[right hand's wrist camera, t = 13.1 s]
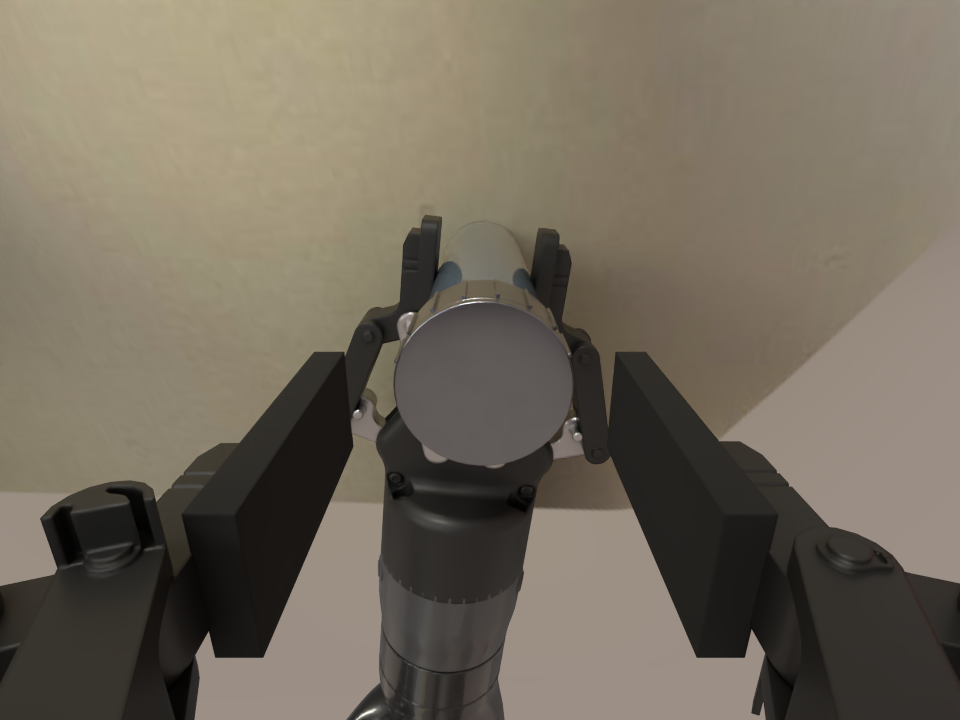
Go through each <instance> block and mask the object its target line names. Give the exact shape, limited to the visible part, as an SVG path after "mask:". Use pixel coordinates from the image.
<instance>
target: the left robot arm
mask: <svg viewBox="0 0 960 720" xmlns="http://www.w3.org/2000/svg"><path fill="white" fill-rule="evenodd" d="M441 226H442V217H439V216H430V215H425V216H424V218H423V219H422V224H421V229H420V228H412V230H411V231H410V232H409V234H408V236H407V238H406V240H405V242H404V244H403V260H402V275H401V292H400V302H399V303H397V304H396V305H393V306H390V307H386V308H380V307H375V308H372V309H370V310H369V311H368V312H367V313H366V315H365V316H364V318H363V319H362V321H361V322H360V324H359V325H358V327H357V328H356V330H355V332H354V335H353V338H352V340H351V343H350V346H349V348H348V351H347V354H346V356H345V364H346V375H347V385H348V396H349V406H350V417H351V427H352V434H354V435H357V436H360V437H362V438H365V439H368V440H370V441H373V442H376V447H377V451H378V453H379V455H380V456H381V458H382V460H383V462H384V466H385V490H384V508H383V525H382V543H381V555H380V557H379V560H378V575H379V592H380V604H381V611H382V624H381V640H380V656H379V673H380V683H379V684H378V685H377V686H376V687H375V688H374V689H373V690H372V691H371V692H370V693H369V694H368V695H367V696H366V697H365V698H364V699H363V700H362V701H361V703H360V704H359V705H358V706H357V707H356V709H355V710H354V711H353V712H352V713H351V715H350V716H349V717H348V718H347V720H504V712H503V703H502V698H501V693H500V689H499V683H498V675H499V671H500V664H501V659H502V653H503V647H504V641H505V636H506V631H507V628H508V625H509V622H510V620H511V617H512V615H513V612H514V609H515V605H516V600H517V596H518V592H519V591H520V589H521V584H522V580H523V575H524V571H523V563H524V558H525V552H526V546H527V541H528V535H529V530H530V524H531V519H532V513H533V507H534V502H535V497H536V491H537V486H538V484H539V481H540V480H541V478H542V477H543V475H544V474H545V473H546V472H547V471H548V470H549V468H550V467H551V465H552V463H553V460H558V459H564V458H570V457H576V456H582V455H585V457H586V459H587V460H588V461H589V462H590V463H592V464H601V463H604V462H605V461H607V460H608V458H609V457H610V453H609V451H608V449H607V438H608V424H607V416H606V407H605V399H604V390H603V382H602V374H601V365H600V357H599V353H598V351H597V350H596V348H595V347H594V346H593V345H592V343H591V339H590V337H589V335H588V333H587V332H586V331H585V330H583V329H580V328H576V329H574V328H572V327H570V326H568V325H566V324H564V323H563V322H562V314H563V309H564V303H565V297H566V292H567V285H568V280H569V275H570V269H571V264H572V263H571V258H570V254H569V250H568V249H567V248H566V247H565V245H562V244H559V234H558V232H557V231H556V230H554V229H546V228H539V229H538V232H537V238H536V245H535V251H534V258H533V265H532V271H531V280H532V283H533V286H534V289H535V291H536V294H537V297H538V300H539V302H540V303H541V304H543V305H544V307H545V308H546V309H547V308H549V309H550V310H551V312H552V315H553V317H554V320H555V322H556V324H557V327H558V330H559V333H560V334H561V333H563V336H564V338H565V340H566V343H567V345H568V347H569V350H570V352H571V355H572V357H571V358H570V360H571V364H572V368H573V374H574V393H573V398H572V402H573V410H569V412H568V414H567V416H566V418H565V420H564V422H563V424H562V425H561V426H560V428H559V429H558V431H557V432H556V433H555V434H554V435H553V437H552V438H551V439H550V440H549V441H548V442H546V443H545V444H544V445H543V446H542V447H540V448H539V449H537V450H536V451H534V452H533V453H531V454H529V455H527V456H525V457H523V458H521V459H518V460H515V461H513V462H509V463H505V464H499V465H492V466H477V465H468V464H463V463H458V462H455V461H452V460H449V459H447V458H445V457H442V456H440V455H438V454H436V453H435V452H433V451H432V450H430V449H428V448H427V447H426V446H425V445H423V444H422V443H421V442H420V441H419V440H418V439H417V438H416V437H415V436H414V435H413V434H412V433H411V431H410V430H409V429H408V427H407V426H406V424H405V422H404V421H403V419H402V417H401V415H400V412H399V410H398V407H397V406H396V407H395V408H394V409H393V410H392V412H391V413H390V414H389V415H388V416H387V417H386V418H384V417H382V416H381V415H380V414H379V413H378V411H377V409H376V404H377V397H376V394H375V393H374V392H373V391H372V390H370V389H368V388H365V387H366V385H367V382H368V380H369V377H370V375H371V372H372V370H373V367H374V365H375V362H376V359H377V357H378V354H379V352H380V349H381V347H382V344H383V343H388V342H392V341H396V340H400V342H401V343H402V341H403V338H405V339H406V336H407V334H406V332H407V330H408V327H409V325H410V322H411V320H412V317H413V315H414V313H415V312H417V313H418V312H419V311H420V309H421V308H422V307H423V306H424V305H425V304H426V303H427V302H428V299H429V296H430V293H431V290H432V287H433V284H434V282H435V279H436V276H437V273H438V262H439V250H440V238H441Z"/></svg>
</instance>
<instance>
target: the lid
mask: <svg viewBox="0 0 960 720" xmlns="http://www.w3.org/2000/svg"><path fill="white" fill-rule="evenodd" d="M406 334H407V336H406V339H405V338H403V341H402V343H401V345H400V348H399V350H398V353H397V355H396V358H395V361H394V363H396V367H395V372H394V396H395V400H396V404H397V407H398V410H399V412H400V415H401V417H402V419H403V421H404V422H405V424H406V426H407V427H408V429H409V430H410V431H411V433H412V434H413V435H414V436H415V437H416V438H417V439H418V440H419V441H420V442H421V443H422V444H423V445H425V446H426V447H427V448H428V449H430V450H432V451H433V452H435V453H436V454H438V455H440V456H442V457H445V458H447V459H449V460H452V461H455V462H458V463H463V464H468V465H477V466H492V465H499V464H505V463H509V462H513V461H515V460H518V459H521V458H523V457H525V456H527V455H529V454H531V453H533V452H534V451H536V450H537V449H539V448H540V447H542V446H543V445H544V444H545V443H546V442H548V441H549V440H550V439H551V438H552V437H553V435H554V434H555V433H556V432H557V431H558V429H559V428H560V426H561V425H562V424H563V422H564V420H565V418H566V416H567V414H568V412H569V409H570V406H571V403H572V398H573V393H574V374H573V368H572V364H571V360H570V358H571V357H572V355H571V352H570V350H569V347H568V345H567V343H566V340H565V338H564V336H563V333H561V334H560V333H559V330H558V327H557V324H556V322H555V320H554V317H553V315H552V312H551V310H550V309H549V308H547V309H546V308H545V307H544V305H543V304H541V303H540V302H539V301H538V300H537V299H536V298H535V297H534V296H532V295H531V294H529V292H528V290H527V289H526V288H525V289H524V290H523V289H521V288H519V287H516V286H514V285H511V284H509V283H504V282H500V281H499V279H495V280H474V281H467V280H463V283H459V284H456V285H453V286H451V287H449V288H447V289H445V290H443V291H441V292H440V293H439V292H438V291H437V292H435V293H434V297H433V298H431V299H430V300H429V301H428V302H427V303H426V304H425V305H424V306H423V307H422V308H421V309H420V311H419V312H418V313H417V312H415V313H414V315H413V317H412V320H411V322H410V325H409V327H408V330H407V332H406Z"/></svg>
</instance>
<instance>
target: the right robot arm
mask: <svg viewBox="0 0 960 720" xmlns="http://www.w3.org/2000/svg"><path fill="white" fill-rule="evenodd" d="M352 449H353V438H352V427H351V417H350V406H349V396H348V385H347V375H346V364H345V354H344V352H314V353H313V354H312V355H311V357H310V358H309V359H308V360H307V361H306V363H305V364H304V365H303V366H302V367H301V369H300V370H299V371H298V372H297V374H296V375H295V376H294V377H293V378H292V380H291V381H290V382H289V383H288V385H287V386H286V387H285V388H284V389H283V391H282V392H281V393H280V394H279V396H278V397H277V398H276V399H275V400H274V402H273V403H272V404H271V405H270V406H269V408H268V409H267V410H266V411H265V413H264V414H263V415H262V416H261V417H260V419H259V420H258V421H257V422H256V424H255V425H254V426H253V427H252V428H251V430H250V431H249V432H248V433H247V435H246V436H245V437H244V438H243V439H242V441H241V442H240V443H220V444H219V445H217V446H215V447H214V448H212V449H210V450H208V451H207V452H205V453H203V454H202V455H200V456H198V457H197V458H196V460H195V461H194V462H193V463H192V464H191V465H190V466H189V467H188V468H187V469H186V470H185V472H184V475H181V476H180V477H179V478H178V479H177V480H176V481H175V482H174V483H173V485H172V488H171V489H168V490H167V491H166V492H165V493H164V494H163V495H162V497H161V498H160V499H159V500H158V501H157V502H156V499H155V496H154V492H153V489H152V488H151V487H149V486H148V485H147V484H145V483H142V482H136V481H117V482H109V483H105V484H101V485H97V486H93V487H89V488H87V489H84V490H82V491H79V492H77V493H75V494H72V495H70V496H68V497H66V498H65V499H63V500H61V501H60V502H58V503H57V504H55V505H53V506H52V507H51V508H50V509H49V510H48V511H47V512H46V513H45V514H44V515H43V516H42V517H41V518H40V520H41V523H42V525H43V528H44V531H45V534H46V537H47V540H48V542H49V545H50V548H51V551H52V554H53V557H54V560H55V563H56V565H57V568H58V569H57V571H56V573H55V575H51V576H46V577H42V578H37V579H33V580H27V581H22V582H18V583H13V584H8V585H3V586H0V720H194V718H195V710H196V702H197V695H198V687H199V679H200V677H199V670H198V664H197V660H196V657H195V654H196V653H197V651H198V649H199V647H200V646H201V644H202V642H203V640H204V638H205V637H206V635H207V633H208V631H209V633H210V638H211V642H212V646H213V650H214V654H215V657H216V658H263V657H264V655H265V652H266V650H267V648H268V645H269V643H270V641H271V638H272V636H273V634H274V631H275V629H276V627H277V624H278V622H279V620H280V617H281V615H282V612H283V610H284V608H285V605H286V603H287V601H288V598H289V596H290V594H291V591H292V589H293V587H294V584H295V582H296V580H297V577H298V575H299V573H300V570H301V568H302V566H303V563H304V561H305V559H306V556H307V554H308V552H309V549H310V547H311V545H312V542H313V540H314V538H315V535H316V533H317V531H318V528H319V526H320V523H321V521H322V519H323V516H324V514H325V512H326V509H327V507H328V505H329V502H330V500H331V498H332V495H333V493H334V491H335V488H336V486H337V484H338V481H339V479H340V477H341V474H342V472H343V470H344V467H345V465H346V463H347V460H348V458H349V456H350V453H351V451H352ZM607 449H608V451H609V453H610V456H611V458H612V460H613V463H614V465H615V467H616V470H617V472H618V474H619V477H620V479H621V481H622V484H623V486H624V488H625V491H626V493H627V495H628V498H629V500H630V502H631V505H632V507H633V509H634V512H635V514H636V516H637V519H638V521H639V523H640V526H641V528H642V531H643V533H644V535H645V538H646V540H647V542H648V545H649V547H650V549H651V552H652V554H653V556H654V559H655V561H656V563H657V565H658V568H659V570H660V573H661V575H662V577H663V580H664V582H665V584H666V587H667V589H668V591H669V594H670V596H671V598H672V601H673V603H674V605H675V608H676V610H677V612H678V615H679V617H680V620H681V622H682V624H683V627H684V629H685V631H686V634H687V636H688V638H689V641H690V643H691V645H692V648H693V650H694V652H695V655H696V657H697V658H744V657H745V654H746V650H747V646H748V642H749V637H750V633H751V629H752V630H753V632H754V634H755V636H756V637H757V639H758V641H759V643H760V644H761V646H762V648H763V650H764V651H765V657H764V660H763V664H762V668H761V672H760V676H759V680H758V684H757V688H756V692H755V696H754V700H753V706H752V712H751V713H753V714H756V715H760V711H761V707H762V704H763V702H764V709H765V716H766V720H960V584H959V583H954V582H950V581H945V580H940V579H935V578H931V577H926V576H921V575H916V574H911V573H908V572H904V570H903V568H902V566H901V565H900V564H899V563H898V561H897V560H896V559H895V558H894V556H893V555H892V554H890V553H889V552H887V551H886V550H885V549H883V548H882V547H881V546H879V545H878V544H877V543H875V542H873V541H871V540H869V539H867V538H864V537H862V536H860V535H858V534H856V533H852V532H849V531H845V530H842V529H838V528H832V527H829V526H828V525H827V524H826V523H825V522H824V521H823V520H822V519H821V518H820V517H819V516H818V514H817V513H816V512H815V511H814V510H813V509H812V508H811V507H810V506H809V505H808V504H807V503H806V502H805V500H804V499H803V498H802V497H801V496H800V495H799V494H798V493H797V492H796V491H795V490H794V489H793V488H792V487H789V483H788V482H787V481H786V480H785V479H784V478H783V477H782V476H781V475H780V474H779V473H777V470H776V469H775V468H774V467H773V466H772V465H771V464H770V463H769V462H768V460H767V459H766V458H765V457H764V456H763V455H762V454H760V453H758V452H757V451H755V450H753V449H752V448H750V447H748V446H747V445H745V444H743V443H741V442H739V441H736V442H735V441H733V442H730V441H729V442H728V441H725V442H724V441H718V439H717V438H716V437H715V436H714V435H713V433H712V432H711V431H710V430H709V428H708V427H707V426H706V425H705V424H704V422H703V421H702V420H701V419H700V417H699V416H698V415H697V414H696V413H695V411H694V410H693V409H692V408H691V407H690V405H689V404H688V403H687V402H686V400H685V399H684V398H683V397H682V396H681V394H680V393H679V392H678V391H677V389H676V388H675V387H674V386H673V385H672V383H671V382H670V381H669V380H668V378H667V377H666V376H665V375H664V374H663V372H662V371H661V370H660V369H659V367H658V366H657V365H656V364H655V363H654V361H653V360H652V359H651V358H650V357H649V355H648V354H647V353H646V352H616V354H615V364H614V375H613V385H612V396H611V406H610V417H609V427H608V438H607Z"/></svg>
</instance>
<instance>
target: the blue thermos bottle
mask: <svg viewBox="0 0 960 720" xmlns="http://www.w3.org/2000/svg"><path fill="white" fill-rule="evenodd" d="M495 279H499V281H500V282H504V283H509V284H511V285H514V286H516V287H519V288H521V289H523V290H524V289H525V288H526V289H527V290H528V292H529V294H531V295H532V296H534V297H535V298H536V299H537V300H538V297H537V294H536V291H535V289H534V286H533V283H532V280H531V277H530V275H529V272H528V269H527V266H526V264H525V261H524V258H523V255H522V252H521V250H520V247H519V245H518V243H517V241H516V239H515V238H514V236H513V235H512V234H511V233H510V232H509V231H508V230H506V229H505V228H503V227H502V226H500V225H497V224H495V223H491V222H475V223H471V224H469V225H466V226H464V227H463V228H461V229H460V230H458V231H457V232H456V233H455V234H454V235H453V236H452V238H451V239H450V241H449V242H448V244H447V247H446V250H445V252H444V255H443V258H442V261H441V264H440V267H439V270H438V273H437V276H436V279H435V282H434V284H433V287H432V290H431V293H430V296H429V299H428V301H429V300H430V299H431V298H433V297H434V293H435V292H437V291H438V292H439V293H440V292H441V291H443V290H445V289H447V288H449V287H451V286H453V285H456V284H459V283H463V280H467V281H474V280H495ZM538 301H539V300H538Z"/></svg>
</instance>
